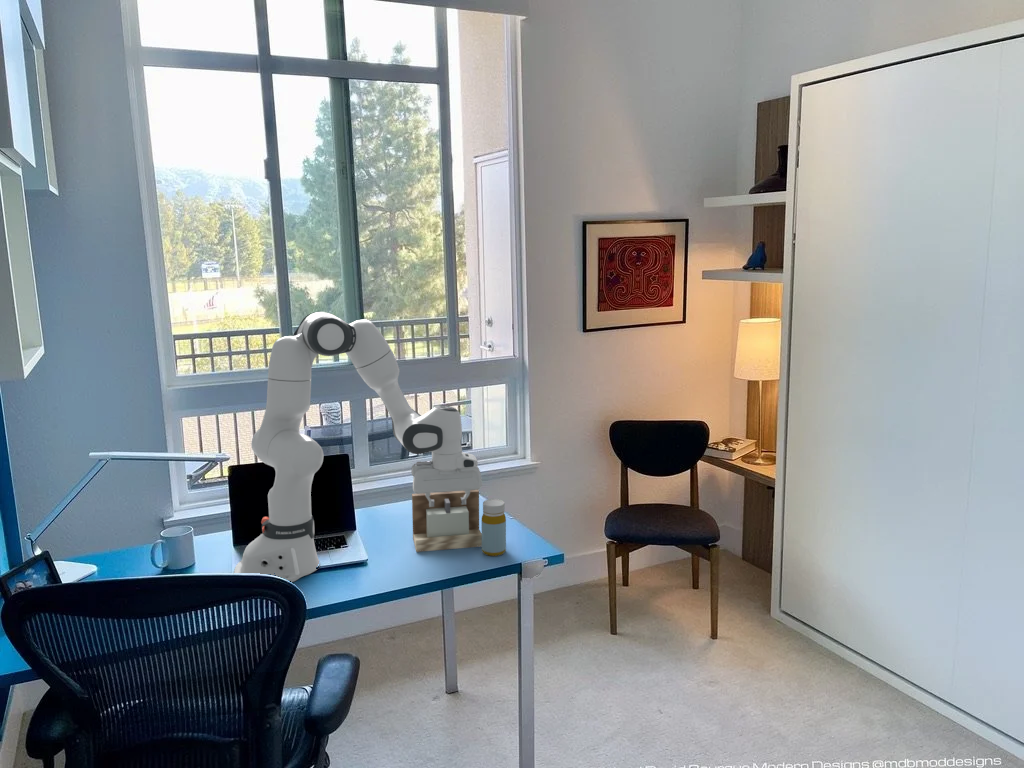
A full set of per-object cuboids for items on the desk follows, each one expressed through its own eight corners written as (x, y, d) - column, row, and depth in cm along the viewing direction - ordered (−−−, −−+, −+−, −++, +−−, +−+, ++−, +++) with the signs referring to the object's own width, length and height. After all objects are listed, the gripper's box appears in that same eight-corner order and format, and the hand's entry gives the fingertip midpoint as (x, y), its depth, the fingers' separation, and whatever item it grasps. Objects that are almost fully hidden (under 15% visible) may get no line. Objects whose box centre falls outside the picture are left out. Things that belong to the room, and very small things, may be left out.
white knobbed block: (428, 540, 222) (427, 505, 220) (426, 534, 227) (425, 499, 224) (468, 537, 224) (468, 502, 222) (466, 531, 229) (466, 496, 227)
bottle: (484, 558, 215) (484, 507, 212) (479, 548, 222) (479, 499, 219) (508, 555, 217) (508, 505, 214) (502, 545, 223) (502, 497, 220)
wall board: (416, 551, 219) (415, 506, 216) (412, 537, 229) (411, 493, 226) (484, 546, 223) (484, 501, 220) (478, 532, 233) (477, 489, 230)
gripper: (412, 465, 216) (413, 511, 218) (482, 461, 220) (483, 506, 223) (410, 459, 222) (411, 503, 224) (479, 455, 226) (479, 499, 229)
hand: (447, 505), depth 223 cm, fingers open, 8 cm apart
